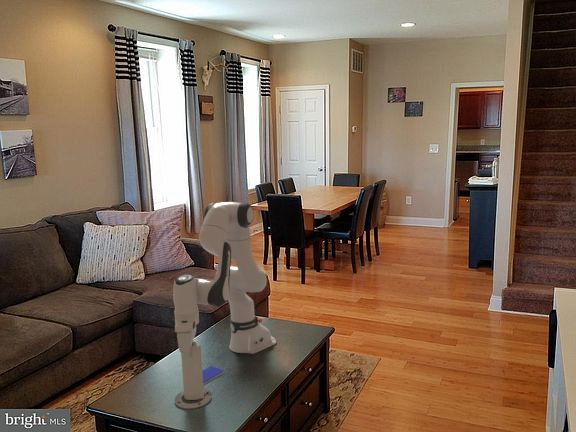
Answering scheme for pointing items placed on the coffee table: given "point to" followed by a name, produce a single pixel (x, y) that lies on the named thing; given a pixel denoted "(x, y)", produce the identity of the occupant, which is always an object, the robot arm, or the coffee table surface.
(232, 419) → the coffee table surface
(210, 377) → the hard drive
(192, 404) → the duct flange
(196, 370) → the paper towel roll
